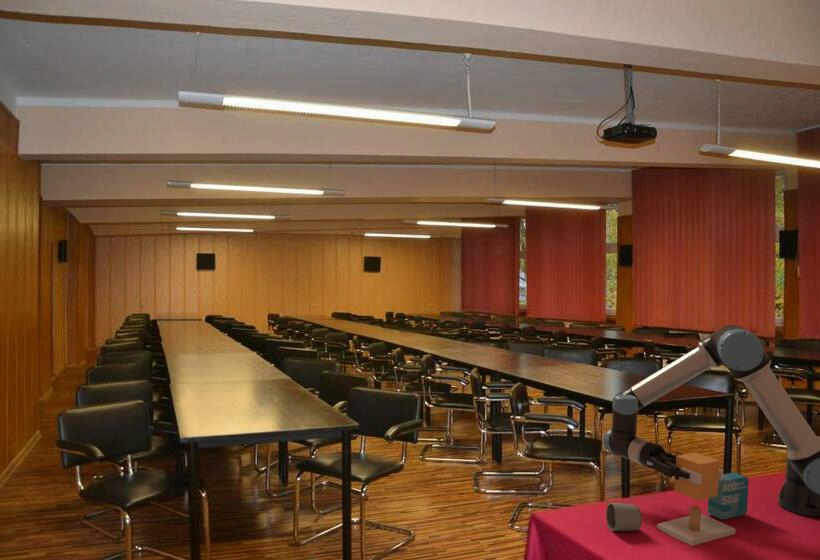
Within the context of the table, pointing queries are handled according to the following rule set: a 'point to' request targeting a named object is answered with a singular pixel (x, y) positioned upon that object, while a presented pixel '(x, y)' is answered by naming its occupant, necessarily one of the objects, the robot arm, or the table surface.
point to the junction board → (696, 536)
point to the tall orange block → (701, 466)
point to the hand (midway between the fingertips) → (711, 477)
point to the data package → (730, 497)
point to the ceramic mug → (623, 517)
